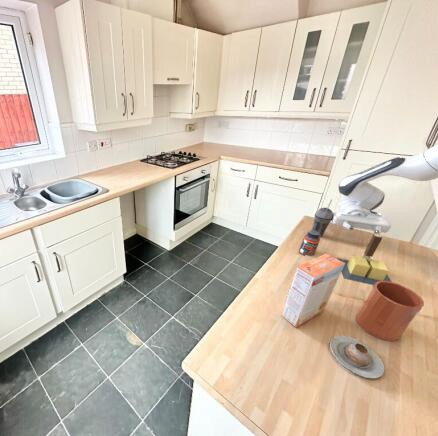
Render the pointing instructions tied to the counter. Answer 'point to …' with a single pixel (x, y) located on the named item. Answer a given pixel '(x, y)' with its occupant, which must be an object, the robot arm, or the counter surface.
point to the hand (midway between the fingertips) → (364, 230)
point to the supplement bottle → (310, 243)
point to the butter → (367, 268)
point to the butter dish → (357, 278)
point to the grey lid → (357, 357)
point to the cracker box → (311, 289)
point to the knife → (372, 246)
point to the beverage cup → (322, 219)
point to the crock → (388, 310)
